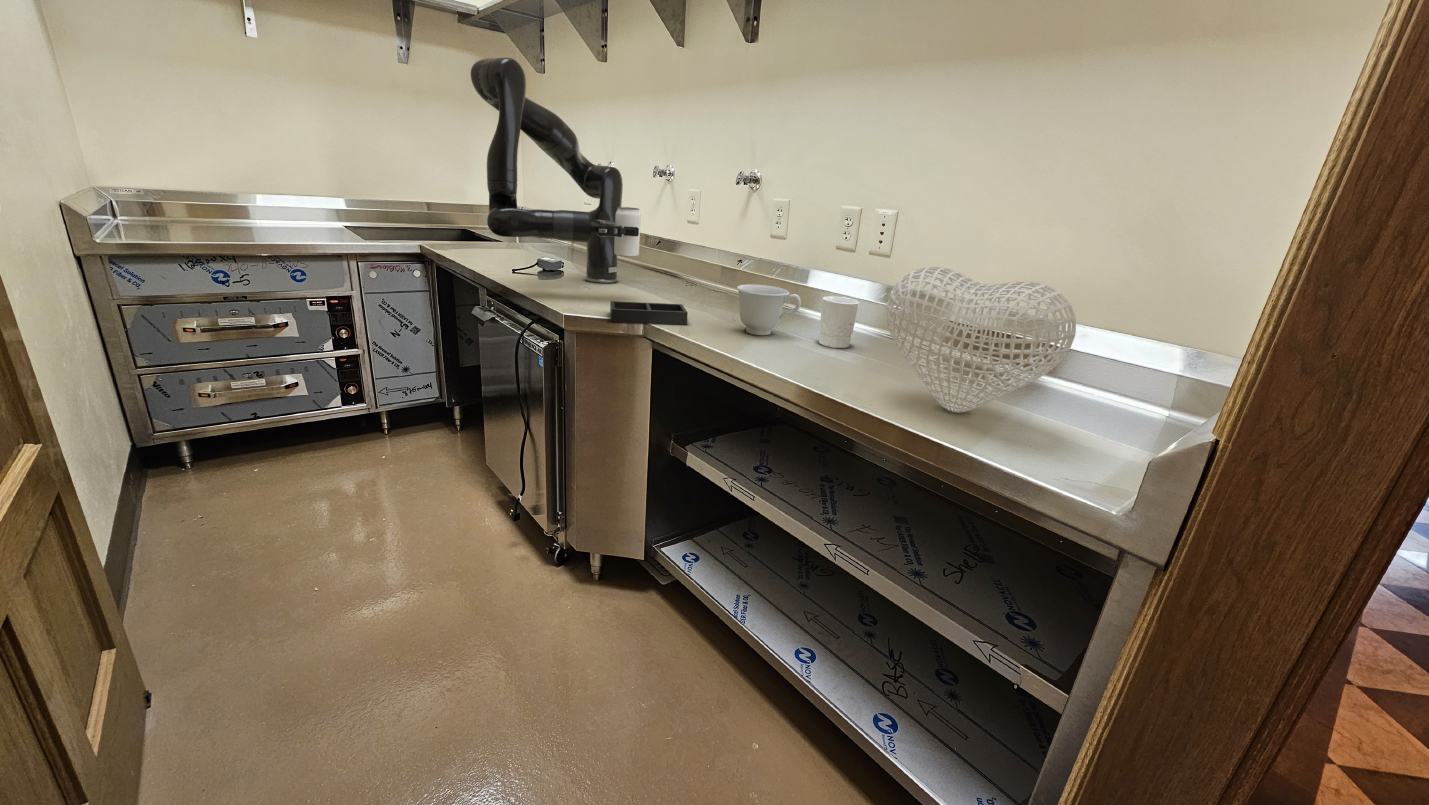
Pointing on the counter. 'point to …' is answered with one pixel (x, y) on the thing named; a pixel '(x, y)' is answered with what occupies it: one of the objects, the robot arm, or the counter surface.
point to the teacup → (763, 307)
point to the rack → (648, 313)
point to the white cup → (837, 321)
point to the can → (627, 244)
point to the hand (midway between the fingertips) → (636, 230)
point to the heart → (992, 289)
